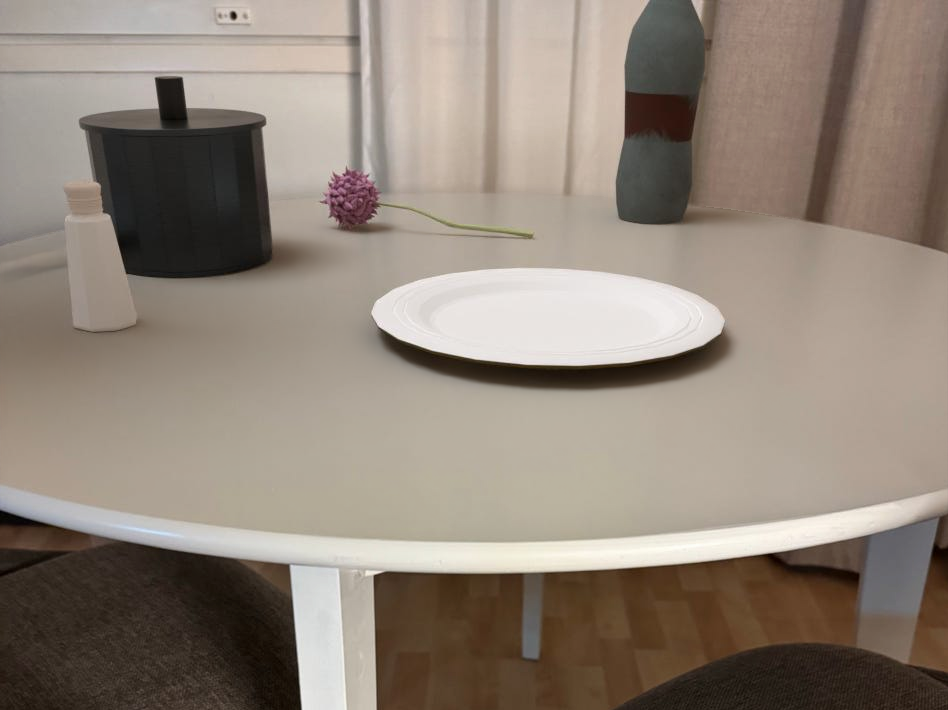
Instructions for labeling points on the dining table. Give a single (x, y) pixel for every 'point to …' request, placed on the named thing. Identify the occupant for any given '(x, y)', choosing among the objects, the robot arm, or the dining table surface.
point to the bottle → (660, 112)
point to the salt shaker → (95, 263)
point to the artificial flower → (358, 201)
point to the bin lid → (172, 117)
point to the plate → (548, 318)
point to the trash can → (185, 201)
